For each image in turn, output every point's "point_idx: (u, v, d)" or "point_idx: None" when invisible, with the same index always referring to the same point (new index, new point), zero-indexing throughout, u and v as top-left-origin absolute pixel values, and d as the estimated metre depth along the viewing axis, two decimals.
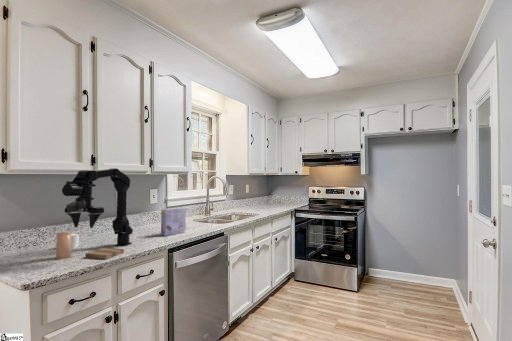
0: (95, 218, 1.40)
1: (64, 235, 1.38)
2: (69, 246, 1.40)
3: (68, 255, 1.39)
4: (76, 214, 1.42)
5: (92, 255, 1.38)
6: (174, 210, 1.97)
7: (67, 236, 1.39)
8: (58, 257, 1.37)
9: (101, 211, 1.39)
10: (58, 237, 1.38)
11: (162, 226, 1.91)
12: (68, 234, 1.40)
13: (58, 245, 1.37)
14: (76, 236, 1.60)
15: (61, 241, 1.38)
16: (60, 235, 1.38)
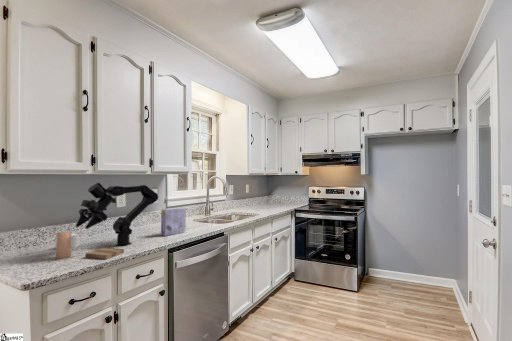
0: (95, 222, 1.47)
1: (64, 235, 1.38)
2: (69, 246, 1.40)
3: (68, 255, 1.39)
4: (85, 217, 1.54)
5: (92, 255, 1.38)
6: (174, 210, 1.97)
7: (67, 236, 1.39)
8: (58, 257, 1.37)
9: (103, 217, 1.48)
10: (58, 237, 1.38)
11: (162, 226, 1.91)
12: (68, 234, 1.39)
13: (58, 245, 1.37)
14: (76, 236, 1.60)
15: (61, 241, 1.37)
16: (60, 235, 1.37)
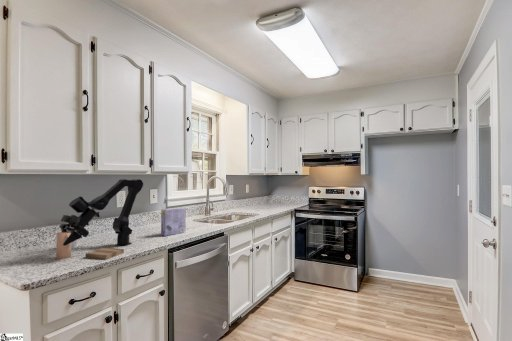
0: (74, 238, 1.40)
1: (64, 235, 1.38)
2: (69, 246, 1.40)
3: (68, 255, 1.39)
4: None
5: (92, 255, 1.38)
6: (174, 210, 1.97)
7: (67, 236, 1.39)
8: (58, 257, 1.37)
9: (84, 233, 1.40)
10: (58, 237, 1.38)
11: (162, 226, 1.91)
12: (68, 234, 1.39)
13: (58, 245, 1.37)
14: None
15: (61, 241, 1.37)
16: (60, 235, 1.37)
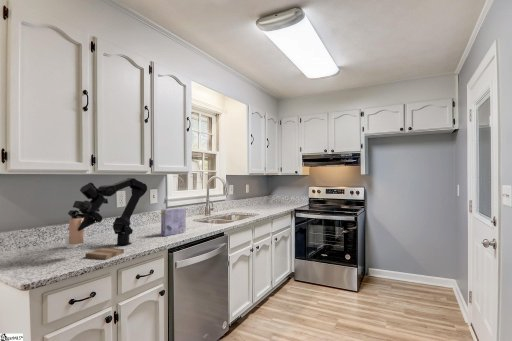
0: (87, 223, 1.41)
1: (78, 220, 1.38)
2: (82, 231, 1.41)
3: (82, 240, 1.40)
4: None
5: (92, 255, 1.38)
6: (174, 210, 1.97)
7: (80, 221, 1.39)
8: (72, 243, 1.37)
9: (99, 218, 1.41)
10: (72, 223, 1.37)
11: (162, 226, 1.91)
12: (81, 219, 1.40)
13: (72, 231, 1.37)
14: None
15: (75, 226, 1.38)
16: (74, 220, 1.38)
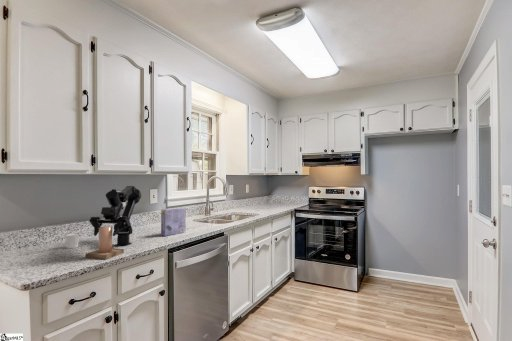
0: (119, 229, 1.47)
1: (110, 229, 1.43)
2: None
3: (111, 248, 1.45)
4: (98, 225, 1.47)
5: (92, 255, 1.38)
6: (174, 210, 1.97)
7: (111, 230, 1.44)
8: (105, 251, 1.41)
9: (128, 223, 1.49)
10: (104, 231, 1.41)
11: (162, 226, 1.91)
12: None
13: (104, 239, 1.41)
14: (76, 236, 1.60)
15: (108, 235, 1.42)
16: (107, 229, 1.42)
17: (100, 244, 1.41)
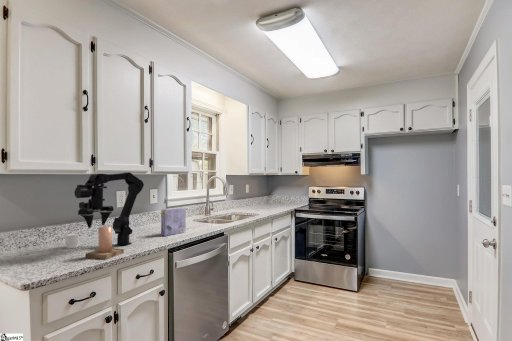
0: (89, 219, 1.47)
1: (110, 229, 1.43)
2: (111, 239, 1.45)
3: (111, 248, 1.45)
4: (104, 213, 1.58)
5: (92, 255, 1.38)
6: (174, 210, 1.97)
7: (111, 229, 1.44)
8: (105, 251, 1.41)
9: (83, 213, 1.44)
10: (104, 231, 1.41)
11: (162, 226, 1.91)
12: (111, 228, 1.45)
13: (104, 239, 1.41)
14: (76, 236, 1.60)
15: (107, 235, 1.42)
16: (106, 229, 1.42)
17: (100, 244, 1.41)
